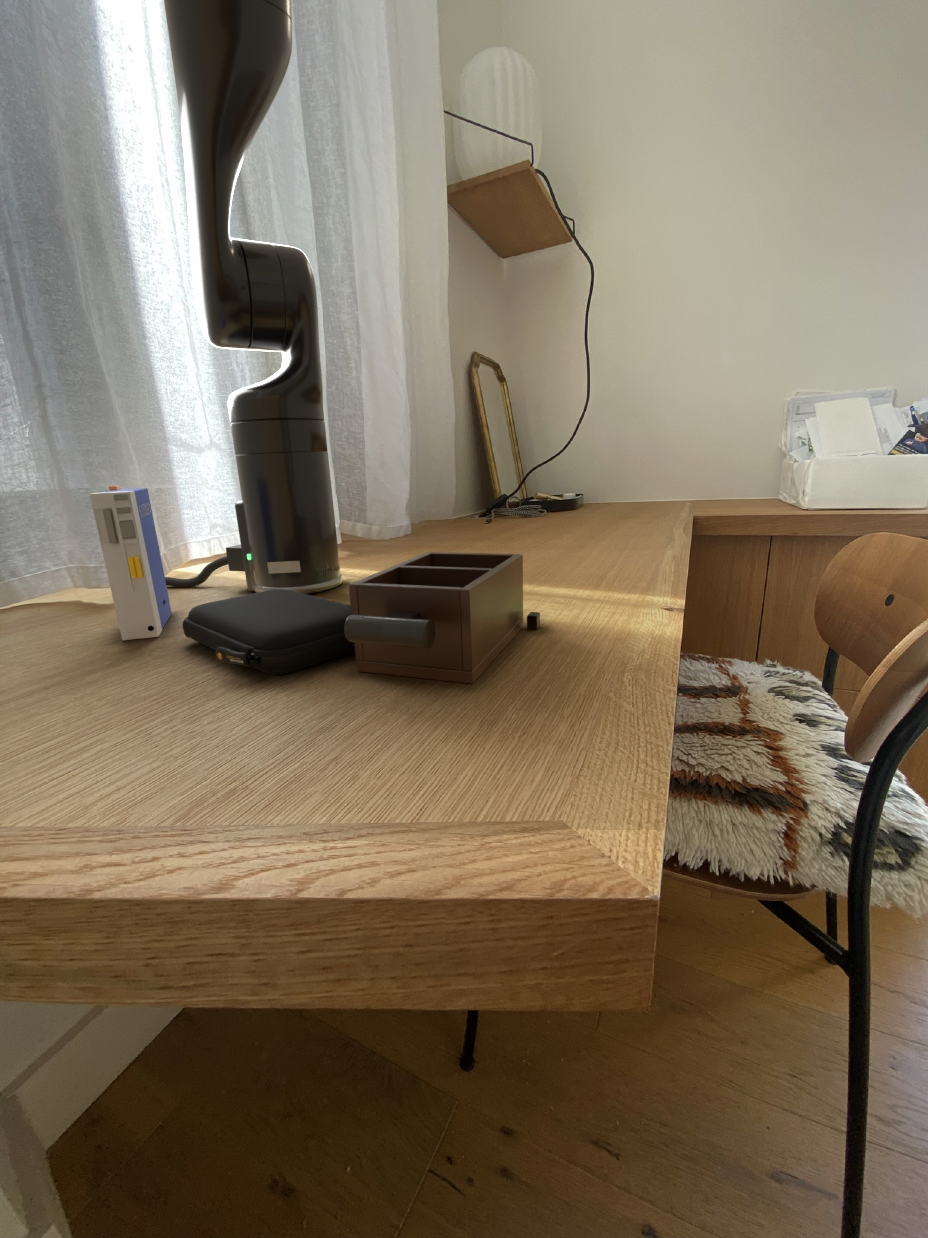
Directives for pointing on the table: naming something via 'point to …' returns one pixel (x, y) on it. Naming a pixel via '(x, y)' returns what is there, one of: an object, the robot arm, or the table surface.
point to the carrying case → (272, 630)
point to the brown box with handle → (436, 615)
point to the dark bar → (533, 621)
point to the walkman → (132, 560)
